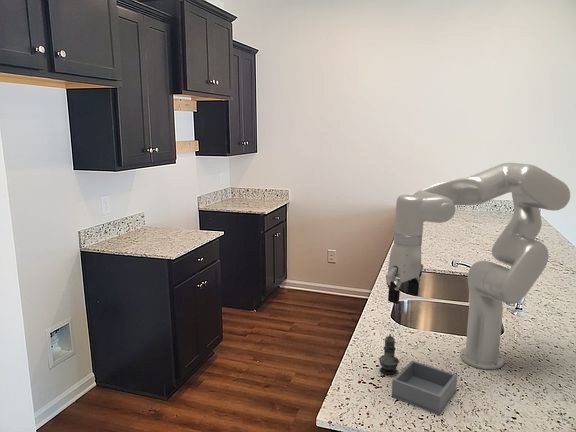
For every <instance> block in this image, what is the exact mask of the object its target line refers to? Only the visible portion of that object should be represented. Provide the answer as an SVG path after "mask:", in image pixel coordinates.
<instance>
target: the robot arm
mask: <svg viewBox="0 0 576 432" xmlns="http://www.w3.org/2000/svg"><path fill="white" fill-rule="evenodd" d="M508 193H511V197H512V203H513V214H512V217H511V219H510V221H509V223H508V224H507V225H506V227H504V229H503V231H502V232H501V234H500V235H499V236H498V238H497V239H496V241H495V242H494V244H492V248H491V255H492V256H493V258H494V260H496V261H497V262H499V263H502V264H504V265H507V266H509V268H508V267H505V266H503V265H500V264H497V263H495V262H492V261H487V260H479V261H476V262H475V263H473V264H472V265H471V266H470V267H469V270H468V271H467V272H468V273H467V284H468V285H467V286H468V294H469V296H468V297H469V299H468V300H469V301H468V302H469V304H468V306H469V307H468V315H467V327H466V328H467V330H466V343H465V348H462V349H461V350H460V354H459V355H460V359H461V360H462V361H463V362H464V363H465V364H468V365H469V366H471V367H474V368H476V369H477V368H478V369H483V370H498V369H500V368H501V367H503V366H504V365H505V364H504V363H505V359H504V357H503V356H502V355H501V354H500V346H501V345H500V344H501V335H502V322H503V312H504V307H503V303H504V304H509V305H514V304H518V303H519V302H521V300H523V299H524V298H525V297H526V296H527V294H528V292H529V291H530V290H531V289H532V288H533V286H534V284H535V283H536V282H537V280H538V279H539V277H540V276H541V275H542V273H543V271H545V269H546V266H547V264H548V263H549V250H548V248H547V246H546V245H545V244H544V243H542V242H541V241H539V240H536V238H537V236H538V235H539V233H540V231H541V229H542V227H543V226H542V225H543V223H542V216H541V213H540V212H541V211H540V209H542V210H547V211H559V210H560V211H561V210H562V209H564V208H565V207H567V205H568V204H569V201H570V200H571V191H570V188H569V186H568V185H567V184H566V183H565V182H564V181H562V180H561V179H560V178H557V177H555V176H554V175H552V174H551V173H550V172H549V173H548V172H547V171H546V170H544V169H542V168H540V167H539V166H536V165H534V164H533V165H532V164H528V163H518V162H504V163H500V164H498V165H495V166H493V167H492V166H491V167H490V168H488V169H485V170H482V171H481V172H477V173H476V174H473V175H470V176H466V177H461V178H457V179H453V180H447V181H443V182H440V183H439V182H438V183H435V184H432V185H429V186H427V187H424V188H422V189H419V190H418V191H416V192H415V193H413V194H401V195H399V196H398V197H397V199H396V204H395V206H396V207H395V219H394V230H393V231H394V235H393V244H392V246H391V250H390V255H389V260H388V261H389V262H388V267H387V268H388V269H387V274H386V275H385V281H386V285H387V288H388V294H387V295H388V296H387V301H388V302H390V303H392V304H394V305H398V304H400V293H401V290H400V286H401V285H402V283H406V282H407V281H408V282H407V283H408V284H407V295H410V296H414V297H418V296H419V291H420V290H419V289H420V288H419V287H420V282H421V277H422V275H423V269H424V267H425V266H424V264H423V263H422V244H423V232H424V223H425V222H426V223H427V222H428V223H437V224H443V223H446V222H449V221H450V220H451V219H452V218H453V217H454V215H455V213H456V206H475V205H476V206H478V205H482V204H485V203H488V202H489V201H491V200H494V199H496V198H498V197H501V196H504V195H506V194H508ZM395 282H396V283H395Z"/></svg>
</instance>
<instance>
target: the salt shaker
mask: <svg viewBox="0 0 576 432" xmlns="http://www.w3.org/2000/svg"><path fill="white" fill-rule="evenodd" d="M395 344H396V340H395V337H393V336H392V334H391V333H390V334H388V335H387V336H386V337H385V339H384V346H383V350H384V352H383V355H382V356H380V357H379V358H378V361H379V363H380V366H381V367H380V368H379V372H380V373H381V374H382V375H384V376H388V377H393V376H397V375H398V374H399V372H398V369H397V368H398V366H399V363H400V359H399V358H397V357H396V356H395V351H397V348H396V347H395Z"/></svg>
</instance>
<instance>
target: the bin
mask: <svg viewBox="0 0 576 432" xmlns="http://www.w3.org/2000/svg"><path fill="white" fill-rule="evenodd" d="M391 381H392V382H391V397H392V398H395V399H397V400H400V401H401V402H405V403H408V404H409V405H412V406H415V407H417V408H420V409H423V410H426V411H428V412H431V413H434V414H435V415H438V416H440V414H441V413H442V411H443V410H445V408H446V406H447V405H448V404H449V402H450V401H451V399H452V398H453V396H455V394H456V393H457V383H458V374H455V373H451V372H449V371H446V370H443V369H439V368H436V367H434V366H430V365H427V364H424V363H423V362H422V363H421V362H418V361H415V360H411V361H410V362H409V363H408V364H407V365H406V366H405V367H404V368H403V369H402V370H400V372H398V373H397V374H396V375H395V377H394V378H393V379H392V380H391Z"/></svg>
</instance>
